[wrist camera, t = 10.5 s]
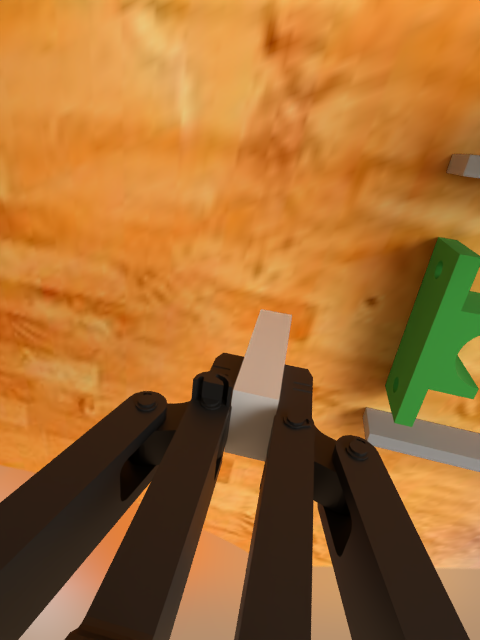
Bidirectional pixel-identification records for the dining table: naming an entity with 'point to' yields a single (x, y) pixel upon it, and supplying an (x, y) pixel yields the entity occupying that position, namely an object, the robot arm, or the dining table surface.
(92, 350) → the dining table surface
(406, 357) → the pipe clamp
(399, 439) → the grey bent bar frame
